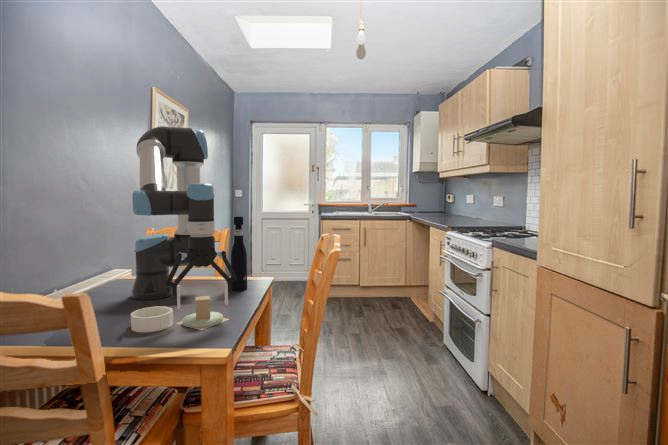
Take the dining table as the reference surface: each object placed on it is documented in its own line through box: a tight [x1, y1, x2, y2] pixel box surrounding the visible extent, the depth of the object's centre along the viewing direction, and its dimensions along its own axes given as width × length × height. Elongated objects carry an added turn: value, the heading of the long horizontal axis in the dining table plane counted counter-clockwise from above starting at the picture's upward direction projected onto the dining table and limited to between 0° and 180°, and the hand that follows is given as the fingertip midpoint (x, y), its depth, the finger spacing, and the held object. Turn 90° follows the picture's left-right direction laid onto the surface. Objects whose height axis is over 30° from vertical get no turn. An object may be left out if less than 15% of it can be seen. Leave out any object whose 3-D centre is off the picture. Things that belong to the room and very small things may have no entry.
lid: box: [182, 295, 224, 329], centre depth 118 cm, size 12×12×7 cm
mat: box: [175, 317, 230, 331], centre depth 118 cm, size 11×11×1 cm
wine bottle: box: [230, 216, 248, 292], centre depth 160 cm, size 6×6×30 cm
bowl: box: [130, 305, 174, 333], centre depth 114 cm, size 11×11×5 cm
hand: (203, 305), depth 117 cm, fingers open, 13 cm apart
